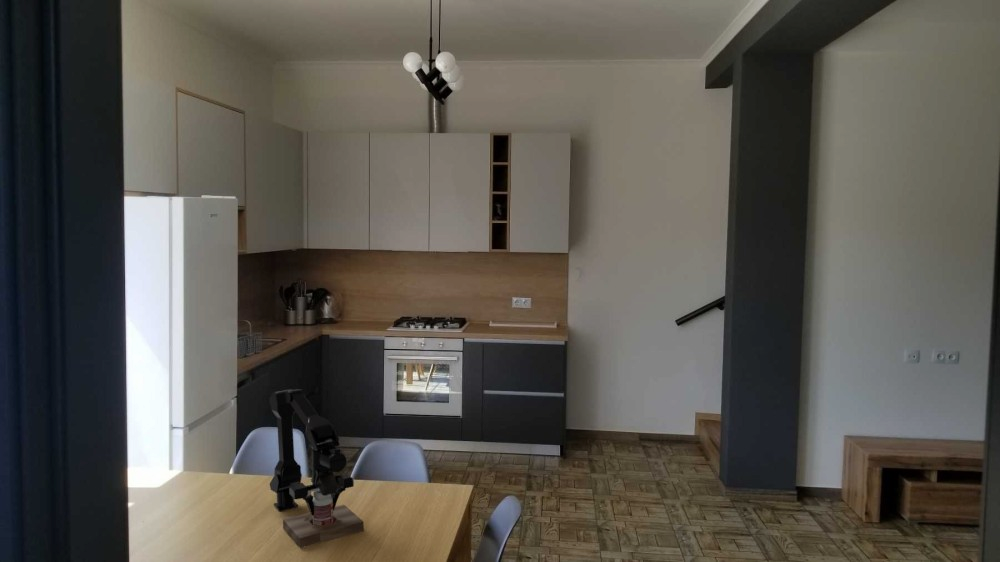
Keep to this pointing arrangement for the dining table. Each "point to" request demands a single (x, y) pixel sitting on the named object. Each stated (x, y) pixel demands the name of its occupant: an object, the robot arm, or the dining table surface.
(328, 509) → the pill bottle
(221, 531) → the dining table surface
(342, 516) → the socket board
